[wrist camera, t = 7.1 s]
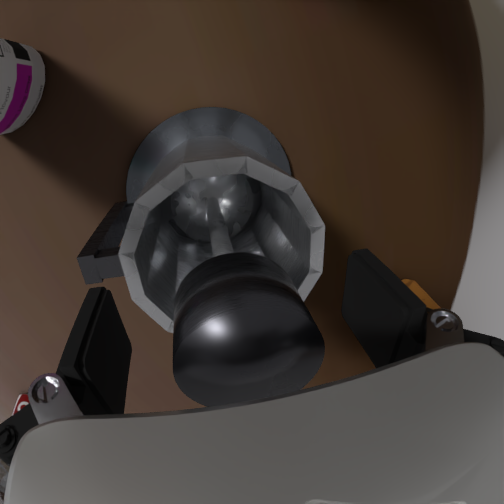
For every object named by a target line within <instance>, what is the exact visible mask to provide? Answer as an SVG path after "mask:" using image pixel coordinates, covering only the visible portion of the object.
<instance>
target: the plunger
mask: <svg viewBox="0 0 504 504" xmlns="http://www.w3.org/2000/svg"><path fill="white" fill-rule="evenodd" d="M252 208H253V193H252V190H251V187H250V185H249V183H248V181H247V180H246V178H245V177H244V176H243V174H234V175H225V176H216V177H208V178H200V179H193V180H189V181H188V182H186V183H185V184H184V185H182V186H181V187H180V188H178V189H177V190H176V191H175V192H173V193H172V197H171V210H172V214H173V217H174V219H175V221H176V223H177V224H178V226H179V227H180V228H181V229H182V230H183V231H184V232H185V233H186V234H188V235H189V236H191V237H193V238H195V239H198V240H202V241H211V245H212V252H213V258H210V259H208V260H206V261H204V262H202V263H201V264H199V265H198V266H196V267H195V268H194V269H193V270H191V271H190V272H189V273H188V274H187V276H186V277H185V278H184V279H183V281H182V282H181V284H180V286H179V288H178V290H177V293H176V296H175V302H174V327H173V374H174V378H175V381H176V383H177V385H178V387H179V388H180V389H181V390H182V392H183V393H184V394H186V395H187V396H188V397H189V398H191V399H192V400H194V401H196V402H197V403H199V404H202V405H204V406H207V407H212V406H219V405H226V404H232V403H239V402H245V401H250V400H256V399H261V398H266V397H271V396H276V395H281V394H286V393H290V392H294V391H299V390H300V389H302V388H303V387H304V386H305V385H306V384H307V383H308V382H309V381H310V380H311V379H312V378H313V377H314V376H315V374H316V373H317V371H318V370H319V368H320V366H321V364H322V361H323V358H324V352H325V345H324V340H323V337H322V335H321V333H320V331H319V329H318V327H317V325H316V324H315V322H314V320H313V318H312V316H311V314H310V313H309V311H308V309H307V307H306V305H305V304H304V302H303V300H302V298H301V296H300V295H299V293H298V291H297V289H296V287H295V286H294V284H293V282H292V280H291V279H290V277H289V275H288V274H287V272H286V271H285V270H284V269H283V268H282V267H281V266H280V265H279V264H277V263H276V262H274V261H273V260H271V259H269V258H267V257H264V256H261V255H258V254H253V253H245V252H236V253H234V251H233V248H232V244H231V241H230V238H229V237H231V236H233V235H234V234H236V233H237V232H238V231H240V230H241V229H242V228H243V227H244V225H245V224H246V223H247V221H248V219H249V217H250V215H251V212H252Z"/></svg>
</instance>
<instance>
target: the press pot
mask: <svg viewBox="0 0 504 504" xmlns="http://www.w3.org/2000/svg"><path fill="white" fill-rule="evenodd" d="M234 174H243V176H244V177H245V178H246V180H247V181H248V183H249V185H250V187H251V190H252V193H253V208H252V212H251V215H250V217H249V219H248V221H247V223H246V224H245V225H244V227H243V228H242V229H241V230H240V231H238V232H237V233H236V234H234V235H233V236H231V237H229V238H230V241H231V244H232V248H233V251H234V253H236V252H245V253H253V254H258V255H261V256H264V257H267V258H269V259H271V260H273V261H274V262H276V263H277V264H279V265H280V266H281V267H282V268H283V269H284V270H285V271H286V272H287V274H288V275H289V277H290V279H291V280H292V282H293V284H294V286H295V287H296V289H297V291H298V293H299V295H300V296H301V298H302V300H303V302H304V300H305V299H306V297H307V296H308V294H309V293H310V291H311V290H312V288H313V287H314V285H315V283H316V282H317V280H318V279H319V277H320V275H321V274H322V271H323V256H324V239H325V225H324V223H323V221H322V219H321V217H320V216H319V214H318V212H317V210H316V209H315V207H314V205H313V204H312V202H311V200H310V198H309V197H308V195H307V193H306V192H305V190H304V188H303V187H302V185H301V183H300V182H299V181H298V180H296V179H295V178H294V177H292V176H291V171H290V166H289V162H288V160H287V157H286V154H285V152H284V150H283V148H282V147H281V145H280V143H279V142H278V140H277V139H276V138H275V136H274V135H273V134H272V133H271V132H270V131H269V130H268V129H267V128H266V127H265V126H263V125H262V124H261V123H260V122H258V121H257V120H255V119H253V118H252V117H250V116H248V115H246V114H243V113H241V112H238V111H235V110H231V109H226V108H217V107H205V108H197V109H192V110H188V111H185V112H182V113H179V114H177V115H175V116H173V117H171V118H169V119H167V120H165V121H164V122H162V123H161V124H160V125H158V126H157V127H156V128H155V129H154V130H153V131H151V132H150V133H149V134H148V136H147V137H146V138H145V139H144V140H143V141H142V143H141V144H140V146H139V148H138V149H137V151H136V153H135V155H134V157H133V159H132V161H131V164H130V168H129V171H128V177H127V184H126V195H127V201H125V202H119V203H115V204H114V205H113V207H112V208H111V209H110V211H109V212H108V213H107V215H106V216H105V218H104V219H103V220H102V222H101V223H100V224H99V226H98V227H97V229H96V230H95V231H94V233H93V234H92V236H91V237H90V239H89V240H88V242H87V243H86V245H85V246H84V248H83V249H82V251H81V252H80V254H79V255H78V257H77V260H78V263H79V266H80V269H81V272H82V275H83V277H84V280H85V283H86V284H93V283H101V282H103V279H105V278H112V277H120V276H125V279H126V282H127V285H128V288H129V292H130V295H131V298H132V300H133V301H134V302H135V303H136V304H137V305H138V306H139V307H140V308H141V309H142V310H143V311H145V312H146V313H147V314H148V315H149V316H150V317H151V318H152V319H154V320H155V321H156V322H157V323H158V324H159V325H160V326H162V327H163V328H164V329H165V330H166V331H168V332H171V333H173V327H174V302H175V296H176V293H177V290H178V288H179V286H180V284H181V282H182V281H183V279H184V278H185V277H186V276H187V274H188V273H189V272H190V271H191V270H193V269H194V268H195V267H196V266H198V265H199V264H201V263H202V262H204V261H206V260H208V259H210V258H213V252H212V245H211V241H202V240H198V239H195V238H193V237H191V236H189V235H188V234H186V233H185V232H184V231H183V230H182V229H181V228H180V227H179V226H178V224H177V223H176V221H175V219H174V217H173V214H172V210H171V197H172V193H173V192H175V191H176V190H177V189H178V188H180V187H181V186H182V185H184V184H185V183H186V182H188V181H189V180H193V179H200V178H208V177H216V176H225V175H234ZM127 203H128V204H127ZM122 238H123V240H122ZM121 240H122V243H121V246H120V247H118V246H119V244H120V242H121Z"/></svg>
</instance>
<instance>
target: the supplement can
mask: <svg viewBox="0 0 504 504" xmlns="http://www.w3.org/2000/svg"><path fill="white" fill-rule="evenodd" d="M44 84H45V66H44V63H43V60H42V58H41V55H40V54H39V53H38V52H37V51H36V50H35V49H34V48H33V47H31V46H27V45H24V44H20V43H17V42H13V41H9V40H5V39H1V38H0V135H2V134H6V133H10V132H13V131H15V130H16V129H18V128H19V127H21V126H22V125H24V124H25V123H26V121H27V120H28V119H29V118H30V117H31V115H32V114H33V113H34V111H35V109H36V107H37V105H38V103H39V101H40V99H41V97H42V92H43V88H44Z"/></svg>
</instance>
